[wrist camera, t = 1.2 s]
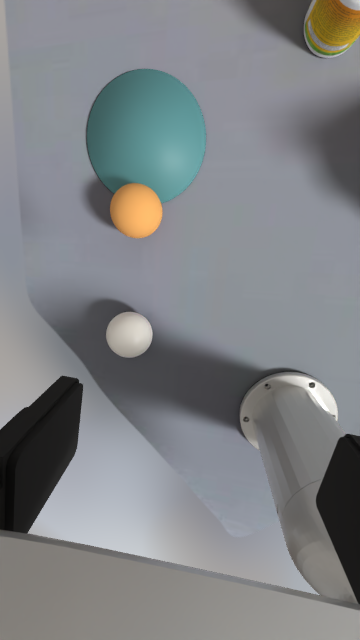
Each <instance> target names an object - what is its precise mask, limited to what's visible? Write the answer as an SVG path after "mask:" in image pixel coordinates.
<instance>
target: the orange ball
mask: <svg viewBox="0 0 360 640" xmlns="http://www.w3.org/2000/svg"><path fill="white" fill-rule="evenodd" d="M110 213H111V218H112V221H113V223H114V224H115V226H116V227H117V229H118V230H119V231H120V232H122V233H123V234H125V235H126V236H129V237H132V238H143V237H146V236H149V235H150V234H152V233H153V232H154V231H155V230H156V229H157V228H158V226H159V224H160V222H161V219H162V205H161V202H160V200H159V198H158V196H157V194H156V193H155V192H154V191H153V190H152V189H151V188H149V187H148V186H146V185H143V184H140V183H131V184H127V185H124V186H122V187H121V188H120V189H119V190H117V192H116V193H115V194H114V196H113V198H112V201H111V205H110Z"/></svg>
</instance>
